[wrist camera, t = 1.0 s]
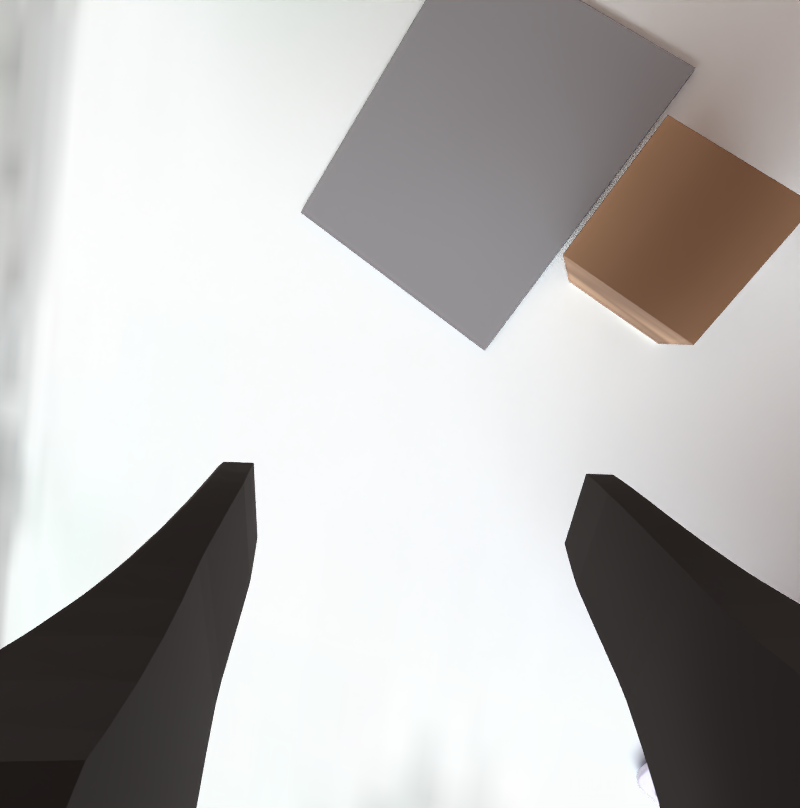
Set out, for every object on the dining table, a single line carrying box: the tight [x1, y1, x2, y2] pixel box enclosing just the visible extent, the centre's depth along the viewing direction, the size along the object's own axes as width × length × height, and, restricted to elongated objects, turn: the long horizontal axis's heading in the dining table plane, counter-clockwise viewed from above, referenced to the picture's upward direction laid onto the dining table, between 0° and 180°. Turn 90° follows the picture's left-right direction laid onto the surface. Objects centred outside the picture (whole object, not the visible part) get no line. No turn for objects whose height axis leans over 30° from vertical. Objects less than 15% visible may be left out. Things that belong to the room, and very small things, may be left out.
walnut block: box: [563, 115, 800, 345], centre depth 17 cm, size 4×4×7 cm
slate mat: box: [301, 0, 695, 350], centre depth 22 cm, size 10×12×1 cm
